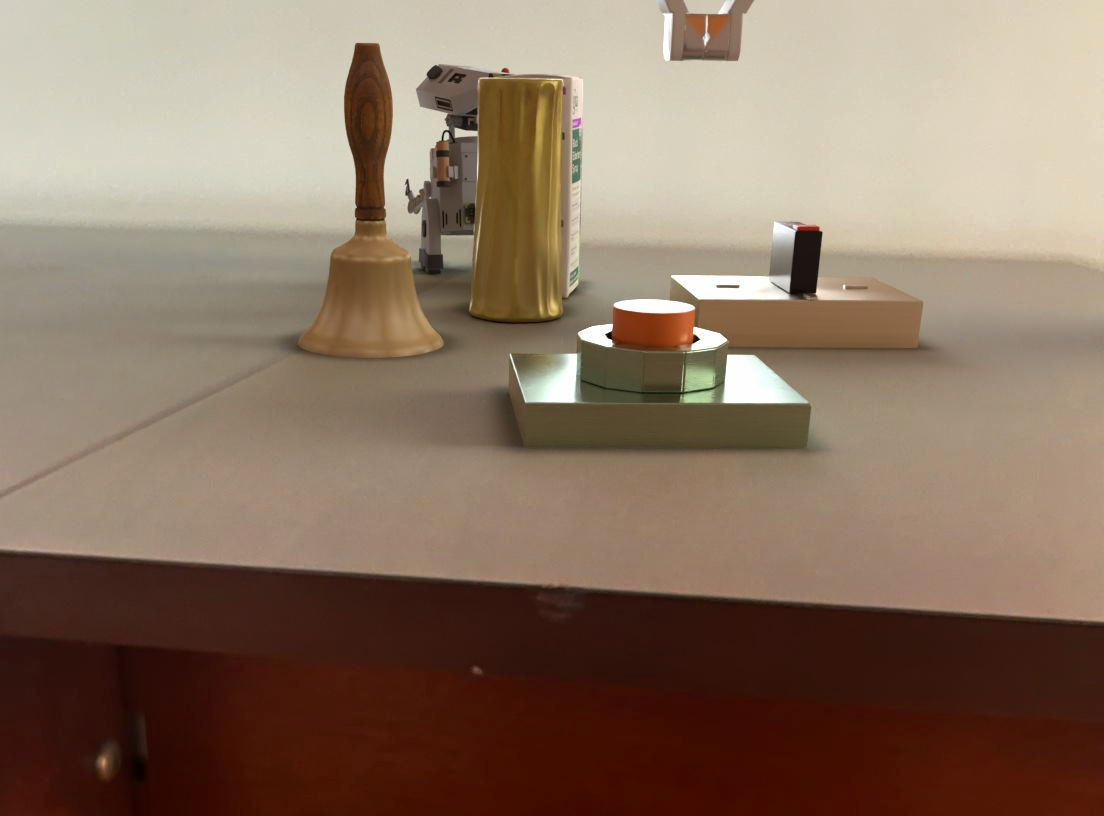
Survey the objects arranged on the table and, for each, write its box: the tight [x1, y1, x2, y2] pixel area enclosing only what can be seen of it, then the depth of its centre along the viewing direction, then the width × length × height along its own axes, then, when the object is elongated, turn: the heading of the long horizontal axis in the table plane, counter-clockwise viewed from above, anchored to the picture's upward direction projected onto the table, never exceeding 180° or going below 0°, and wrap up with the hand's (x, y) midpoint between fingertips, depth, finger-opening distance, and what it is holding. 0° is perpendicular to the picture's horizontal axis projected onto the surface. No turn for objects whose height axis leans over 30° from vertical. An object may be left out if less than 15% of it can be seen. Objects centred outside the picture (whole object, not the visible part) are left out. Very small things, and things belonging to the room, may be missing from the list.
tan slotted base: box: [669, 274, 924, 349], centre depth 80 cm, size 13×9×3 cm
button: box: [611, 298, 695, 346], centre depth 58 cm, size 4×4×2 cm
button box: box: [508, 323, 812, 449], centre depth 59 cm, size 12×10×4 cm
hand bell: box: [297, 42, 445, 359], centre depth 72 cm, size 8×8×16 cm
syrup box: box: [493, 73, 584, 299], centre depth 92 cm, size 6×6×14 cm
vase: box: [468, 78, 564, 324], centre depth 83 cm, size 6×6×14 cm
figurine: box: [404, 63, 516, 274], centre depth 103 cm, size 9×12×15 cm
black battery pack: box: [768, 221, 824, 293], centre depth 78 cm, size 5×2×4 cm, turn 3°
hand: (700, 61), depth 55 cm, fingers closed
